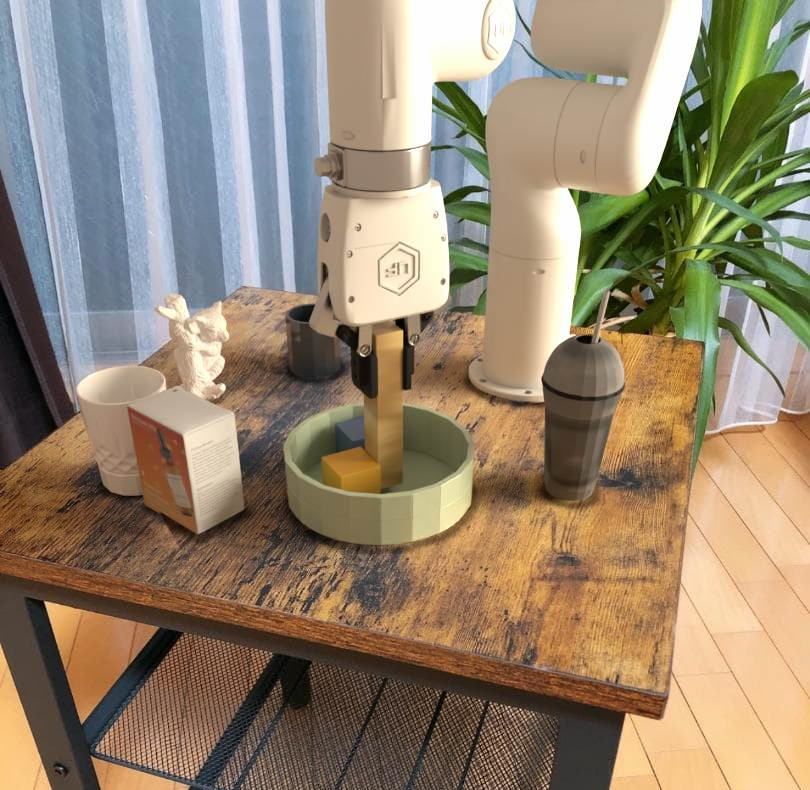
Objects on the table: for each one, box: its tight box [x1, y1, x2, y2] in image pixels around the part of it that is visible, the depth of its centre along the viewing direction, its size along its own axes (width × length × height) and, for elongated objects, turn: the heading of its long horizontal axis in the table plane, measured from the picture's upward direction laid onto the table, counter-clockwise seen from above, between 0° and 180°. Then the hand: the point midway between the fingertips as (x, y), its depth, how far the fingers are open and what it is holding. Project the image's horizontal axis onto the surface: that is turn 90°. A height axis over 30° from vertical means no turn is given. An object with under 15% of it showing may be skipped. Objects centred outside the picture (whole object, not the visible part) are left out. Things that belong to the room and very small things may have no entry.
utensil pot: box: [285, 303, 342, 378], centre depth 106 cm, size 6×6×7 cm
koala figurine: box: [154, 292, 230, 400], centre depth 99 cm, size 8×7×12 cm
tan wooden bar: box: [363, 320, 404, 489], centre depth 80 cm, size 3×3×15 cm
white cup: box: [74, 365, 167, 497], centre depth 85 cm, size 8×8×10 cm
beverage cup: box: [541, 289, 626, 502], centre depth 80 cm, size 7×7×20 cm
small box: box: [127, 385, 245, 535], centre depth 81 cm, size 8×6×10 cm
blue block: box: [335, 416, 365, 453], centre depth 88 cm, size 4×4×4 cm
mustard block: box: [322, 447, 381, 494], centre depth 83 cm, size 4×4×4 cm
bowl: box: [282, 402, 476, 546], centre depth 84 cm, size 17×17×6 cm
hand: (383, 386), depth 79 cm, fingers closed on tan wooden bar, 2 cm apart
